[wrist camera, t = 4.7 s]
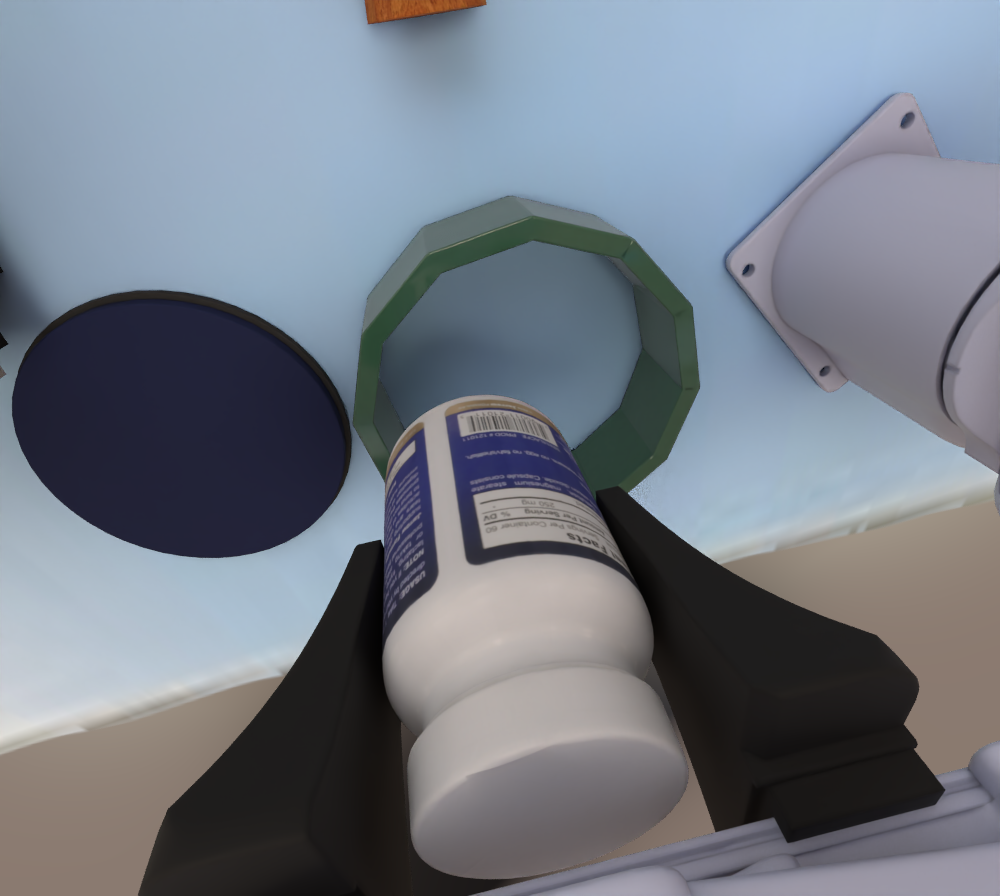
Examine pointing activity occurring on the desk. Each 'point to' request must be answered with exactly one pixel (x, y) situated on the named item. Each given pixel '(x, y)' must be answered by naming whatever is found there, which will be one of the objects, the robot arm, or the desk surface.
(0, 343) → the game console
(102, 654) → the desk surface
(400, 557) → the pill bottle
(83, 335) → the navy blue disc
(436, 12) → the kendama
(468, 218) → the ring
